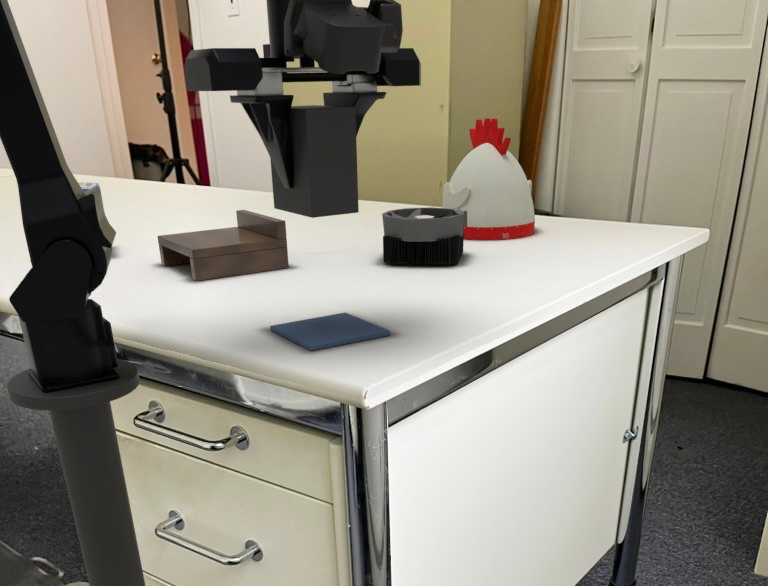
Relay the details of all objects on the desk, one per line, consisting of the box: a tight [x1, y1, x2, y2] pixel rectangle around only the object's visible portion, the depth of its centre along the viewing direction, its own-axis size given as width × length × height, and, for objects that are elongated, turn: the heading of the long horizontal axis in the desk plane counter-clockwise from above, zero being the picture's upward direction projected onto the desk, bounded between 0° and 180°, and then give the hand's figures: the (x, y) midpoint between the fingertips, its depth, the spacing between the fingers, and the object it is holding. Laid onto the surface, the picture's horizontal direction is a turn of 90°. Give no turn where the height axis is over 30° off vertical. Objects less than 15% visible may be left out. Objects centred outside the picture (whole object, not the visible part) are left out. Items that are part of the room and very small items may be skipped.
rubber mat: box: [269, 312, 391, 352], centre depth 73 cm, size 8×8×1 cm
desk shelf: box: [157, 209, 290, 282], centre depth 99 cm, size 12×12×6 cm
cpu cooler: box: [381, 206, 467, 266], centre depth 100 cm, size 10×6×10 cm
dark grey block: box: [269, 104, 359, 219], centre depth 68 cm, size 4×7×8 cm, turn 33°
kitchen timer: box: [441, 117, 536, 241], centre depth 115 cm, size 14×14×15 cm
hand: (313, 185), depth 68 cm, fingers closed on dark grey block, 4 cm apart
